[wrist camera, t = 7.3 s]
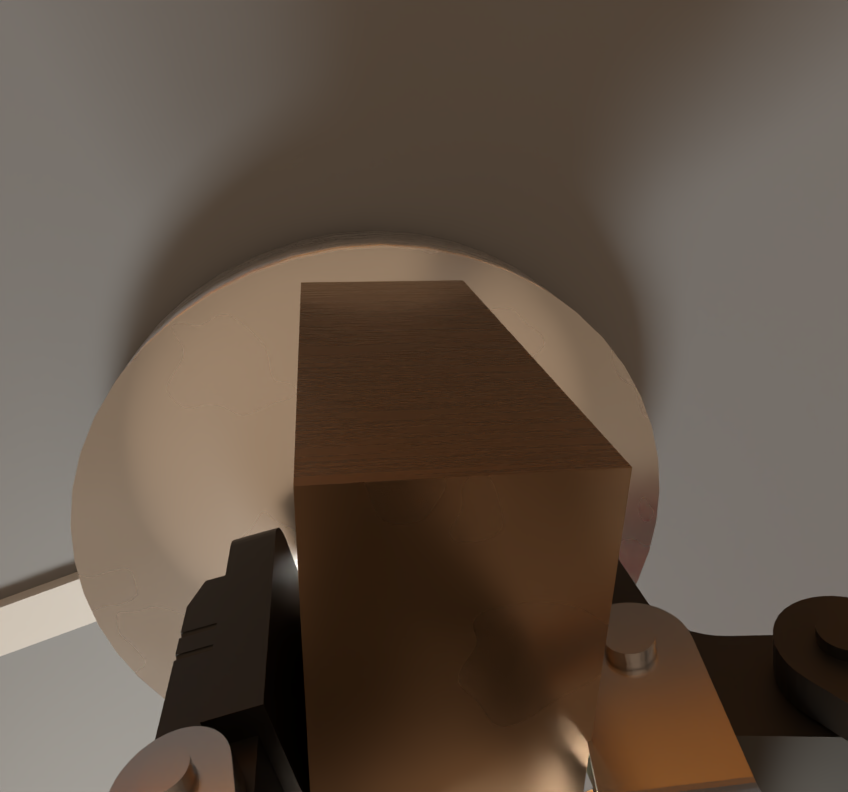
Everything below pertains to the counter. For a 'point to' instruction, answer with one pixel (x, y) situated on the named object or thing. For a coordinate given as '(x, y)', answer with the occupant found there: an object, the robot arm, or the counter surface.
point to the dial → (384, 501)
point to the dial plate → (441, 218)
